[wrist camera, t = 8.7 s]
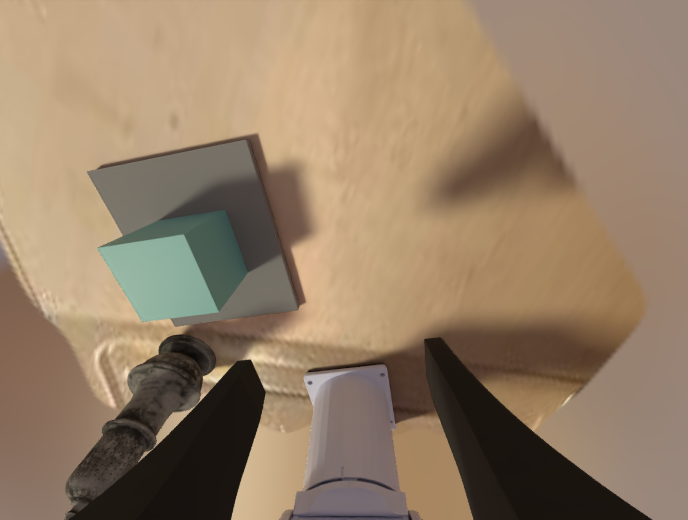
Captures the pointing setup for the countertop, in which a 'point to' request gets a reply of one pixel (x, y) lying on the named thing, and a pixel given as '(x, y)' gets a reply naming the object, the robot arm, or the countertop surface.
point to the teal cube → (178, 266)
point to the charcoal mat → (201, 197)
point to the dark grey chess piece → (142, 415)
